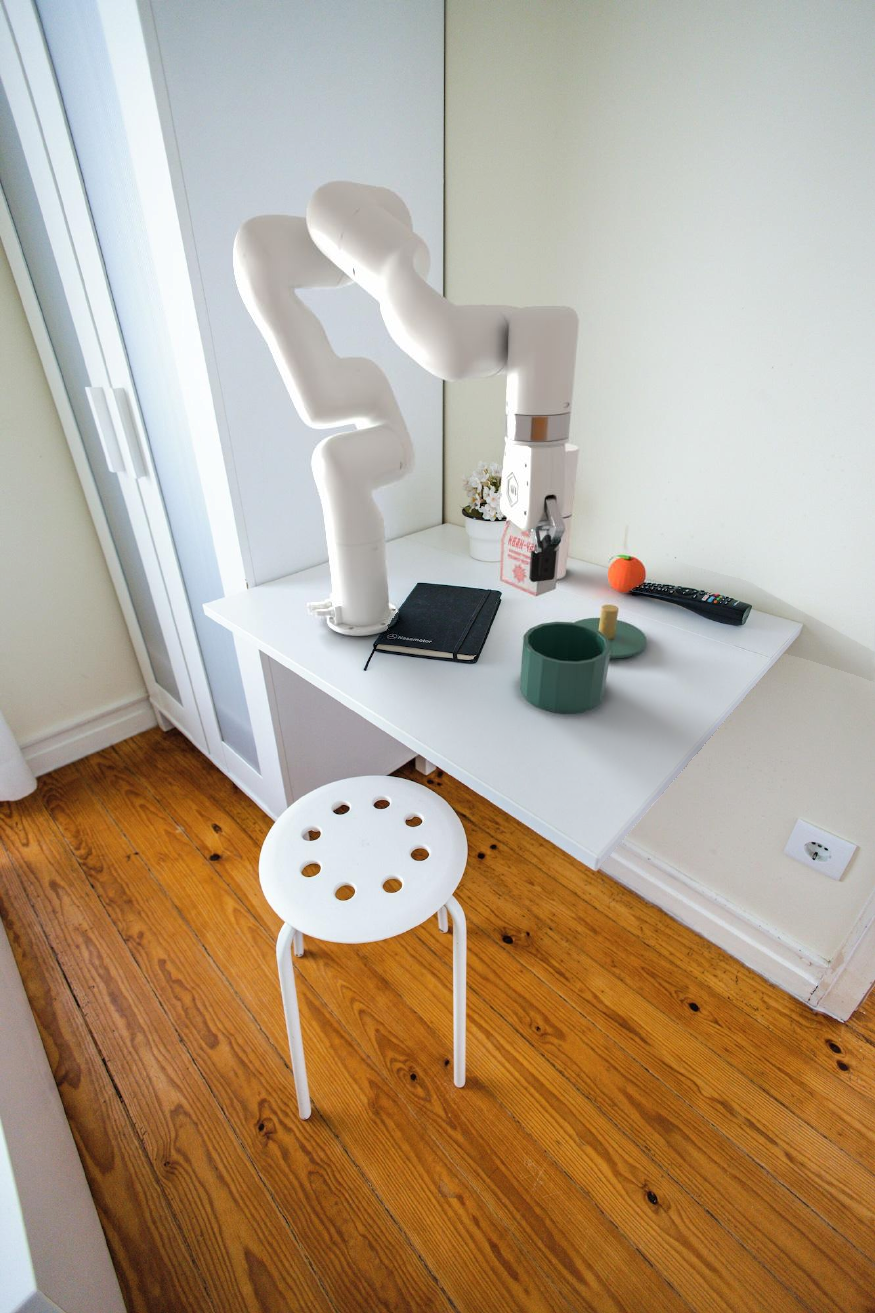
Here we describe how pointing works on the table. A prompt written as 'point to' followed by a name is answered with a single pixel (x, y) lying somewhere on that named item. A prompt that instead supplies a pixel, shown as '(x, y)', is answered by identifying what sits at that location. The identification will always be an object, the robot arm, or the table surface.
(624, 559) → the clementine
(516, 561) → the tea bag
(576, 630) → the tin
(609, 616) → the tin lid
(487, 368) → the robot arm
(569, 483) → the cylindrical container
